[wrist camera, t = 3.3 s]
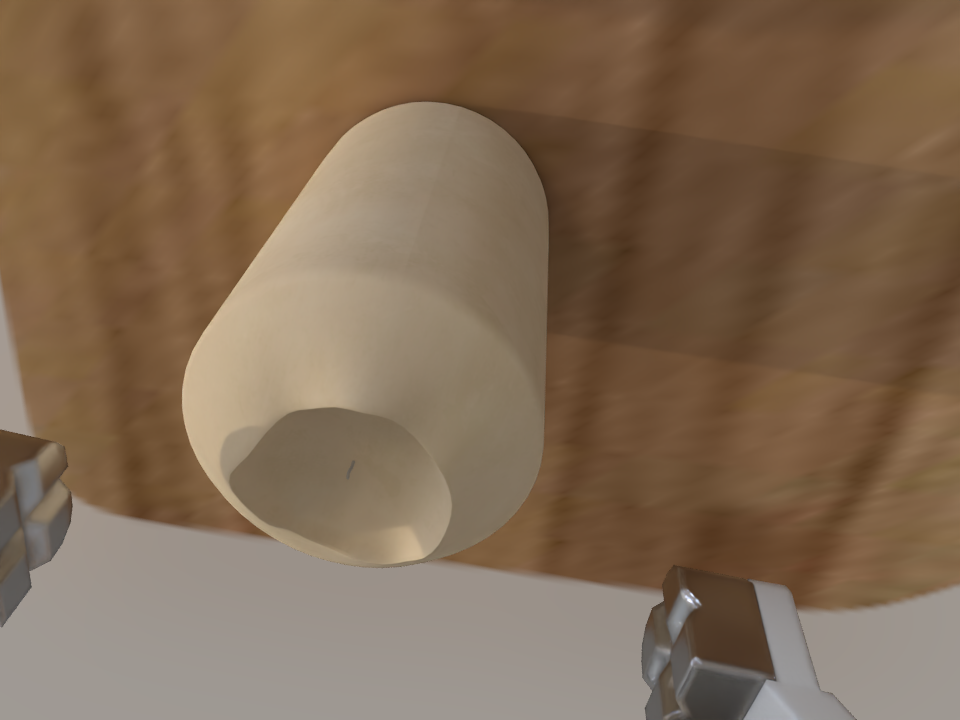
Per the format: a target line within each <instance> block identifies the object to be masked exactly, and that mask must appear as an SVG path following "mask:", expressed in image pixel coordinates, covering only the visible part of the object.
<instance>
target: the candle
mask: <svg viewBox="0 0 960 720" xmlns="http://www.w3.org/2000/svg"><path fill="white" fill-rule="evenodd" d="M548 254H549V223H548V207H547V201H546V196H545V192H544V189H543V186H542V183H541V180H540V178H539V176H538V174H537V172H536V169H535V167H534V165H533V163H532V162H531V160H530V159H529V157H528V156H527V154H526V152H525V151H524V150H523V149H522V147H521V146H520V145H519V144H518V143H517V141H516V140H515V139H514V138H513V137H511V136H510V135H509V134H508V133H507V132H506V131H505V130H504V129H503V128H501V127H500V126H498V125H497V124H495V123H494V122H493V121H491V120H489V119H488V118H486V117H484V116H482V115H480V114H478V113H476V112H473V111H471V110H468V109H465V108H463V107H459V106H455V105H451V104H446V103H437V102H413V103H407V104H401V105H397V106H394V107H390V108H387V109H384V110H382V111H380V112H378V113H376V114H374V115H371V116H369V117H368V118H366V119H364V120H363V121H361V122H360V123H358V124H357V125H355V126H354V127H353V128H351V129H350V130H349V131H348V132H347V133H346V134H345V135H344V136H343V137H342V138H341V139H340V140H339V141H338V143H337V144H336V145H335V146H334V147H333V149H332V150H331V151H330V152H329V154H328V155H327V156H326V158H325V159H324V160H323V162H322V163H321V164H320V166H319V167H318V169H317V170H316V172H315V173H314V174H313V176H312V177H311V179H310V180H309V182H308V183H307V185H306V186H305V187H304V189H303V190H302V192H301V193H300V195H299V196H298V197H297V199H296V200H295V202H294V203H293V205H292V206H291V207H290V209H289V210H288V212H287V213H286V215H285V216H284V217H283V219H282V220H281V222H280V223H279V225H278V226H277V227H276V229H275V230H274V232H273V233H272V235H271V236H270V238H269V239H268V240H267V242H266V243H265V245H264V246H263V248H262V249H261V250H260V252H259V253H258V255H257V256H256V258H255V259H254V260H253V262H252V263H251V265H250V266H249V268H248V269H247V270H246V272H245V273H244V275H243V276H242V278H241V279H240V281H239V282H238V283H237V285H236V286H235V288H234V289H233V291H232V292H231V293H230V295H229V296H228V298H227V299H226V301H225V302H224V303H223V305H222V306H221V308H220V309H219V311H218V312H217V314H216V315H215V316H214V318H213V319H212V321H211V322H210V324H209V325H208V327H207V328H206V329H205V331H204V332H203V334H202V336H201V337H200V339H199V341H198V343H197V344H196V346H195V348H194V349H193V351H192V354H191V357H190V359H189V362H188V365H187V367H186V371H185V377H184V382H183V387H182V409H183V416H184V422H185V427H186V431H187V434H188V437H189V440H190V444H191V446H192V448H193V450H194V452H195V455H196V457H197V459H198V461H199V463H200V464H201V466H202V468H203V469H204V471H205V472H206V474H207V476H208V477H209V479H210V480H211V481H212V483H213V484H214V485H215V486H216V487H217V489H218V490H219V491H220V492H221V494H222V495H223V496H224V497H225V498H226V499H227V501H228V502H229V503H230V504H231V505H232V506H233V507H234V508H235V509H236V510H237V511H238V512H239V513H241V514H242V515H243V516H244V517H245V518H246V519H248V520H249V521H250V522H251V523H253V524H254V525H255V526H256V527H258V528H259V529H261V530H262V531H264V532H265V533H267V534H269V535H270V536H272V537H273V538H275V539H276V540H278V541H280V542H282V543H284V544H286V545H288V546H290V547H292V548H294V549H296V550H298V551H301V552H303V553H306V554H308V555H311V556H314V557H317V558H320V559H324V560H327V561H331V562H336V563H340V564H344V565H351V566H359V567H372V568H389V567H401V566H408V565H414V564H419V563H424V562H428V561H432V560H435V559H439V558H442V557H446V556H449V555H452V554H455V553H457V552H460V551H462V550H464V549H467V548H469V547H472V546H473V545H475V544H477V543H479V542H480V541H482V540H484V539H486V538H487V537H489V536H490V535H492V534H493V533H494V532H495V531H497V530H498V529H499V528H501V527H502V526H503V525H504V524H505V523H506V522H507V521H508V520H509V519H510V518H511V517H512V516H513V515H514V514H515V513H516V512H517V511H518V509H519V508H520V507H521V505H522V504H523V503H524V501H525V500H526V499H527V497H528V495H529V493H530V491H531V489H532V487H533V485H534V483H535V481H536V478H537V475H538V472H539V469H540V466H541V461H542V454H543V447H544V420H545V379H546V337H547V296H548Z"/></svg>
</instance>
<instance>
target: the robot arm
mask: <svg viewBox="0 0 960 720" xmlns="http://www.w3.org/2000/svg"><path fill="white" fill-rule="evenodd" d="M67 467H68V463H67V457H66V451H65V447H64V446H62V445H61V444H59V443H57V442H54V441H49V440H45V439H40V438H36V437H31V436H26V435H22V434H18V433H13V432H9V431H4V430H0V627H3V625H4V624H5V623H6V621H7V619H8V618H9V617H10V616H11V614H12V613H13V612H14V610H15V609H16V608H17V606H18V605H19V603H20V602H21V601H22V599H23V598H24V597H25V595H26V594H27V593H28V591H29V590H30V588H31V580H30V573H29V571H31V570H33V569H35V568H37V567H39V566H41V565H43V564H45V563H47V562H49V561H51V559H52V558H53V556H54V555H55V554H56V552H57V551H58V549H59V548H60V546H61V545H62V543H63V540H64V537H65V535H66V533H67V530H68V528H69V525H70V522H71V514H72V496H71V491H70V490H69V489H68V488H67V487H66V486H65V484H64V483H63V482H62V481H61V480H60V479H59V477H60V476H61V475H62V474H63V472H64V471H65V470H66V468H67ZM662 587H663V596H664V601H663V602H662V603H660V604H658V605H656V606H655V607H653V608H652V610H651V613H650V616H649V618H648V621H647V624H646V627H645V633H644V638H643V643H642V661H641V662H642V674H643V675H642V677H643V679H644V681H645V682H646V683H647V684H648V686H649V687H650V689H651V690H652V693H651V696H650V698H649V700H648V703H647V705H646V707H645V713H646V720H857V719H855V718H854V716H853V715H852V714H851V713H850V712H849V711H848V710H847V709H846V708H845V707H844V706H843V704H842V703H841V702H840V701H839V700H838V699H837V698H836V697H835V696H834V695H833V694H832V693H829V692H824V691H821V690H820V687H819V684H818V680H817V677H816V674H815V670H814V667H813V664H812V660H811V657H810V654H809V650H808V647H807V643H806V640H805V636H804V633H803V630H802V626H801V623H800V620H799V616H798V613H797V610H796V606H795V603H794V599H793V596H792V593H791V591H790V590H789V589H788V588H787V587H786V586H784V585H779V584H773V583H768V582H763V581H757V580H752V579H748V580H746V579H744V578H740V577H734V576H729V575H724V574H719V573H713V572H708V571H703V570H698V569H692V568H687V567H682V566H677V565H673V567H672V568H671V569H670V570H669V571H668V573H667V575H666V578H665V580H664V582H663V584H662Z"/></svg>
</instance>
